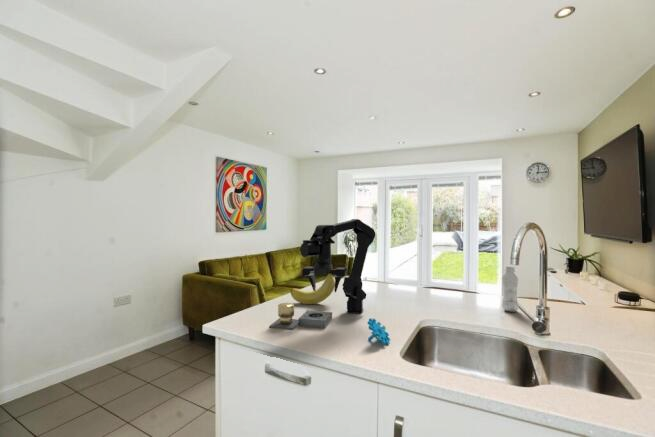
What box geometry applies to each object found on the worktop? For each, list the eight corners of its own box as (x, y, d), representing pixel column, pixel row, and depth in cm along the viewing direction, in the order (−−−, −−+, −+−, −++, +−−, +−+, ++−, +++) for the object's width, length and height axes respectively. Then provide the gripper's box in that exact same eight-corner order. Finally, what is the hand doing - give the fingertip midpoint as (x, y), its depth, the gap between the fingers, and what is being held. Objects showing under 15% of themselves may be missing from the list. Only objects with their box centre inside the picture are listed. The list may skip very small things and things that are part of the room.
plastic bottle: (503, 312, 140) (503, 268, 140) (501, 308, 146) (500, 265, 146) (519, 314, 137) (519, 268, 137) (516, 309, 144) (516, 266, 143)
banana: (288, 304, 154) (288, 264, 154) (292, 301, 160) (291, 262, 160) (334, 306, 150) (333, 265, 150) (335, 303, 156) (335, 263, 156)
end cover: (296, 320, 128) (296, 303, 128) (290, 326, 121) (290, 307, 121) (281, 319, 129) (281, 302, 129) (275, 324, 123) (275, 306, 123)
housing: (332, 319, 131) (332, 312, 131) (325, 328, 121) (325, 320, 121) (307, 317, 134) (307, 310, 134) (298, 325, 124) (298, 318, 123)
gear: (384, 345, 101) (366, 319, 105) (372, 355, 102) (354, 329, 107) (396, 338, 110) (378, 314, 115) (384, 348, 112) (367, 324, 116)
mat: (302, 321, 129) (302, 319, 129) (293, 329, 119) (293, 328, 119) (279, 319, 132) (279, 317, 132) (269, 327, 122) (269, 325, 122)
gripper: (296, 257, 126) (297, 295, 126) (341, 257, 121) (342, 298, 121) (305, 253, 137) (306, 288, 137) (347, 254, 131) (348, 291, 132)
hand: (324, 291), depth 131 cm, fingers open, 9 cm apart
